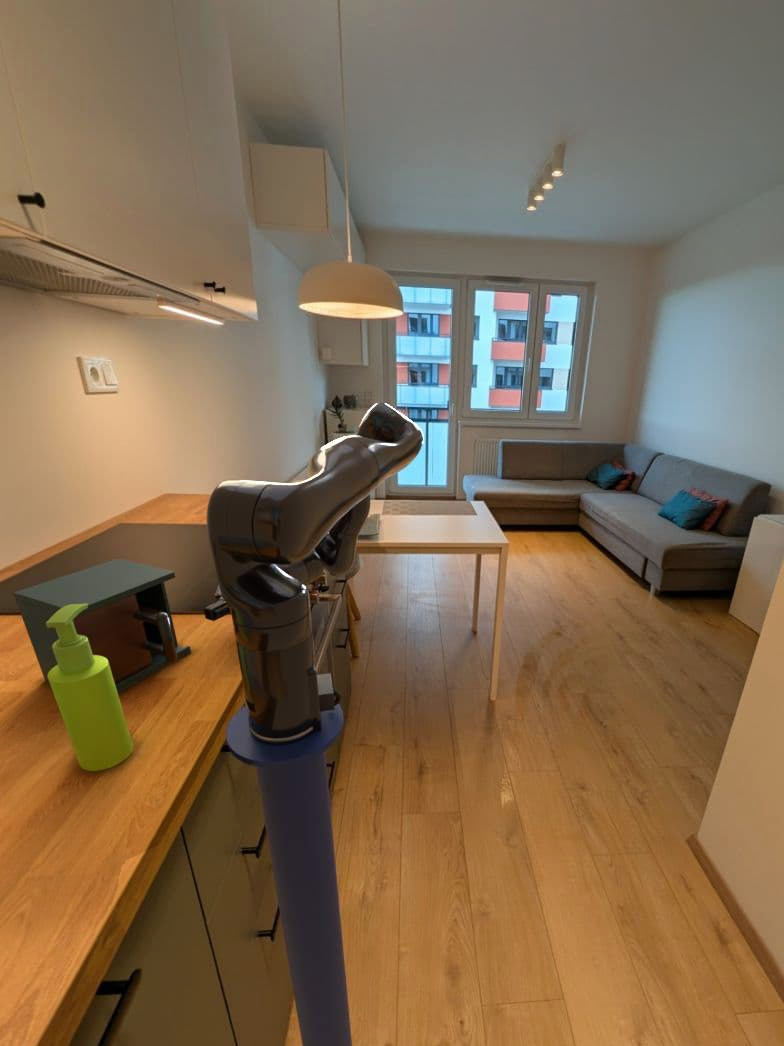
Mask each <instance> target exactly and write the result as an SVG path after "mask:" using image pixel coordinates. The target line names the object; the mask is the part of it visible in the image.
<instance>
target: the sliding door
mask: <svg viewBox="0 0 784 1046" xmlns="http://www.w3.org/2000/svg"><path fill="white" fill-rule="evenodd" d="M142 621H144V622H148V623H151V624H154V625H158V629H159V633H160V638H161V642H162V646H160V645H157V644H154V643H151V642H148V641H147V638H146V635H145V631H144V627H143V623H142ZM73 623H74V626H75V630H76V633H77V635H83V636H86V637H87V638H88V641H89V644H90V647H91V650H92V654H93V655H98V656H103V657H105V658H106V659H107V660H108V662H109V666H110V669H111V672H112V676H113V679H114V682H115V685H116V684H118V683H120V682H121V681H123V680H125V679H127V678H129V677H131V676H132V675H134V674H136V673H138V672H140V671H142V670H144V669H145V668H147V667H149V666H151V665H153V662H152V658H151V654H150V652H153V653H157V654H160V655H163V656H165V658H166V661H167V662H169V663H171V664H174V663H175V662H177V661H178V660H177V653H176V649H175V645H174V640H173V636H172V631H171V627H170V623H169V618H168V615H167V614H166V613H164V612H161V613H158V614H157V615H152V614H149V613H146V612H142V611H139V607H138V603H137V599H136V595H135V594H133V595H130V596H127V597H125V598H122V599H120V600H117V601H115V602H112V603H110V604H107V605H105V606H102V607H100V608H97V609H95V610H92V611H90V612H87V613H85V614H82V615H80V616H77V617H75V618H74V619H73Z"/></svg>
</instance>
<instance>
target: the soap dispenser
mask: <svg viewBox="0 0 784 1046" xmlns="http://www.w3.org/2000/svg"><path fill="white" fill-rule="evenodd" d="M87 608H88V604H70V605H67V606H65V607H63V608H61V609H60V610H58V611H57V612H56V613H55V614H54V615H53V616H52V617H51V618H50V619H49V620H48V621H47V622H46V625H47V628H50V627H55V628H56V631H57V634H58V637H59V639H58V640H57V641H56V642H54V643H53V645H52V649H53V652H54V655H55V657H56V660H57V663H58V665H56V666H55V667H53V668H52V669H51V670H50V671H49V673H48V680H49V686H50V688H51V691H52V693H53V696H54V699H55V702H56V704H57V707H58V709H59V712H60V715H61V718H62V721H63V724H64V726H65V729H66V732H67V734H68V737H69V741H70V743H71V746H72V748H73V751H74V754H75V756H76V760H77V762H78V765H79V767H80V768H81V769H82V770H84V771H89V772H99V771H104V770H108V769H111V768H113V767H115V766H117V765H120V764H121V763H123V762H124V761H125V760H127V758H129V757H130V755H131V754H132V753H133V752H134V751H133V750H134V744H133V740H132V736H131V733H130V729H129V726H128V723H127V720H126V716H125V713H124V709H123V706H122V703H121V700H120V696H119V693H117V689H116V686H115V682H114V679H113V676H112V672H111V669H110V666H109V662H108V660H107V659H106V658H105V657H103V656H98V655H93V654H92V650H91V647H90V644H89V641H88V638H87V637H86V636H83V635H77V633H76V630H75V626H74V623H73V619H74V618H75V617H76V616H77V615H78V614H79V613H80V612H81V611H83V610H84V609H87Z"/></svg>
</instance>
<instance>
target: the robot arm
mask: <svg viewBox="0 0 784 1046" xmlns="http://www.w3.org/2000/svg"><path fill="white" fill-rule="evenodd" d="M423 444H424V433H423V431H422V429H421V428H420V427H419V426H418V425H417V424H416V423H415V422H413V421H412V420H411V419H409V418H408V417H407V416H405V415H404V414H403V413H401V412H399V411H398V410H396V409H395V408H393V406H390V404H387V403H385V402H383V401H382V402H381V401H380V402H378V403H375V404H374V405H372V407H370V409H368V411H367V412H366V414H365V415H364V416H363V418H362V421H361V422H360V424H359V426H358V429H357V431H356V434H355V435H347V436H343V437H340V438H339V437H338V438H337V439H334V440H333V441H331V442H329V443H327V444H326V445H323V446H322V447H320V448H319V449H318V450H317V451H315V453H313V455H312V456H311V457H310V459H309V461H308V464H307V467H306V480H303V481H300V482H293V483H289V482H288V483H287V482H273V481H264V480H263V481H262V480H253V479H243V478H231V479H227V480H226V479H225V480H224V481H222V482H219V483H218V485H217V486H215V487H214V489H213V490H212V492H211V494H210V496H209V498H208V502H207V507H206V531H207V538H208V542H209V543H208V544H209V547H210V551H211V555H212V559H213V564H214V569H215V572H216V576H217V582H218V585H217V588H216V591H215V593H214V597H215V602H214V603H211V604H210V605H207V606H206V607H204V609H203V613H204V617H205V620H208V621H212V622H215V621H217V620H220V619H222V618H223V617H225V616H227V615H231V620H232V626H233V632H234V638H235V644H236V645H235V646H236V650H237V657H238V661H239V662H238V663H239V668H240V674H241V681H242V686H243V692H244V693H243V694H242V697H243V702H244V706H245V705H246V708H247V710H248V719H249V727H250V732H251V734H252V736H253V737H254V738H255V739H256V740H258V741H259V742H262V743H265V744H269V745H285V744H291V743H294V742H297V741H300V740H302V739H304V738H306V737H308V736H309V735H311V734H312V733H314V732H319V731H321V730H322V726H321V712H322V711H329V710H335V706H336V705H337V704H340V702H341V699H342V695H341V693H340V692H339V691H338V690H336V689H335V688H334V687H333V681H332V674H331V673H330V672H328V673H322V674H317V665H316V664H317V663H316V653H315V645H314V644H315V643H314V636H313V634H314V633H313V625H312V614H311V613H312V612H311V600H310V599H311V598H310V592H309V590H308V588H307V586H308V585H309V584H311V583H313V582H315V581H316V580H318V579H320V577H322V575H323V574H324V571H325V573H327V574H329V575H330V576H331V577H341V576H344V575H346V573H348V572H349V571H350V569H351V568H352V566H353V564H354V561H355V557H356V552H357V544H358V539H359V535H360V533H361V531H362V529H363V527H364V525H365V523H366V521H367V520H368V517H369V514H370V512H371V495H370V494H372V493H373V492H374V491H375V490H376V489H377V488H378V487H379V486H380V485H381V484H382V483H384V482H385V481H386V480H387V479H389V478H390V477H392V476H395V475H396V474H398V473H400V472H401V471H403V470H404V469H406V468H407V467H408V466H410V464H411V463H412V462H413V461H414V460H415V459H416V457H418V455H419V453H420V451H421V449H422V447H423Z"/></svg>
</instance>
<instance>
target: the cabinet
mask: <svg viewBox="0 0 784 1046" xmlns="http://www.w3.org/2000/svg"><path fill="white" fill-rule="evenodd" d="M175 578H176V574H175V571H171V570H169V569H168V570H167V569H164V568H160V567H155V566H153V565H146V564H143V563H139V562H135V561H131V560H127V559H124V558H115V559H113V560H109V561H106V562H102V563H100V564H97V565H93V566H90V567H88V568H84V569H82V570H78V571H76V572H73V573H68V574H66V575H64V576H60V577H57V578H53V579H51V580H47V581H44V582H42V583H39V584H35V585H32V586H29V587H26V588H23V589H20V590H17V591H14V592H13V597H14V599H15V602H16V605H17V607H18V610H19V613H20V616H21V618H22V621H23V624H24V627H25V629H26V632H27V634H28V638H29V640H30V643H31V646H32V648H33V649H32V650H33V652H34V654H35V657H36V659H37V662H38V664H39V667H40V671H41V673H42V676H43V678H44V681H46V682H49V680H48V673H49V671H50V670H51V669H52V668H53V667H55V666H56V665H58V663H57V660H56V657H55V655H54V652H53V649H52V645H53V643H54V642H56V641H57V640H58V639H59V637H58V634H57V631H56V628H55V627H50V628H47V625H46V622H47V621H48V620H49V619H50V618H51V617H52V616H53V615H54V614H55V613H56V612H57V611H58V610H60V609H61V608H63V607H65V606H67V605H70V604H88V608H87V609H84V610H83V611H81V612H80V613H79V614H78V615H77V616H80V615H82V614H85V613H87V612H90V611H92V610H95V609H97V608H100V607H102V606H105V605H107V604H110V603H112V602H115V601H117V600H120V599H122V598H125V597H127V596H130V595H133V594H135V595H136V599H137V603H138V607H139V611H142V612H146V613H149V614H152V615H157V614H158V613H161V612H164V613H166V614H167V615H168V618H169V623H170V627H171V631H172V636H173V640H174V645H175V649H176V653H177V660H176V661H179V660H180V659H181V658H183V657H186V656H187V655H189V654H191V653H192V649H191V646H190V645H186V646H184V647H183V646H180V645H179V644H178V638H177V635H176V629H175V625H174V621H173V617H172V612H171V608H170V604H169V599H168V594H167V590H166V586H165V585H166V584H165V582H168V581H171V580H172V579H175ZM77 616H76V617H77ZM142 623H143V627H144V631H145V635H146V638H147V641H148V642H151V643H154V644H157V645H160V646H162V642H161V638H160V633H159V629H158V625H154V624H151V623H148V622H144V621H142ZM150 654H151V658H152V662H153V665H151V666H149V667H147V668H145V669H144V670H142V671H140V672H138V673H136V674H134V675H132V676H131V677H129V678H127V679H125V680H123V681H121V682H120V683H118V684H116V685H115V686H116V689H117V693H118V694H119V693H121V692H123V691H125V690H126V689H128V688H130V687H132V686H134V685H136V684H137V683H139V682H141V681H142V680H145V679H147V678H148V677H150V676H151V675H153V674H155V673H157V672H159V671H160V670H162V669H163V668H165V667H167V666H169V665H172V663H169V662H167V661H166V658H165V656H163V655H160V654H157V653H153V652H150ZM49 683H50V682H49Z"/></svg>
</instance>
